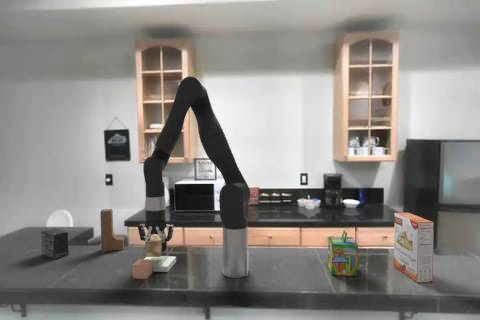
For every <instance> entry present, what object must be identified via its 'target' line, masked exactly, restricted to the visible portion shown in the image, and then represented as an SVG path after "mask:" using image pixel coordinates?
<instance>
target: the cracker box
mask: <svg viewBox="0 0 480 320" xmlns="http://www.w3.org/2000/svg"><path fill="white" fill-rule="evenodd" d="M393 220H394V222H393V223H394V228H393V229H394V233H393V234H394V236H393V238H394V239H393V267H394V268H396V269H397V270H399V271H400V272H401V271H402V272H401V273H403V274H404V275H405V276H407V277H408V276H409V279H411V278H412V279H413V280H412V279H411V280H412V281H413V282H415V281H416V282H428V283H431V282H430V281H433V279H434V276H433V275H434V238H435V237H434V228H435V225H434V221H431V220H429V219H425V218H424V217H421V216H418V215H416V214H413V213H411V212H394V219H393ZM416 282H415V283H416Z"/></svg>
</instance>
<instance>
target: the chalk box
mask: <svg viewBox="0 0 480 320" xmlns="http://www.w3.org/2000/svg"><path fill="white" fill-rule="evenodd" d="M358 249H359V244H358V242H357V241H356V240H355V239H354V237H348V232H347V231H346V230H343V231H342V234H341V236H333V235H332V236H330V235H329V236H328V237H327V267H328V270H329V271H330V274H331V276H347V277H348V276H349V277H358V257H359V256H358V255H359V250H358Z"/></svg>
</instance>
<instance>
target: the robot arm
mask: <svg viewBox="0 0 480 320" xmlns="http://www.w3.org/2000/svg"><path fill="white" fill-rule="evenodd" d="M189 109H191V111H192V112H193V115H194V118H195V119H196V123H197V124H196V125H197V130H198V136H199V139H200V143H201V146H202V147H203V149H204V152H205V154H206V156H207V158H208V159H209V160H210V162H211V163H212V164H213V165H214V166H215V167H216V168H217V171H219V172H220V174H221V176H222V178H223V181H224V185H223V186H222V187H221V189H220V192H219V198H218V200H219V201H218V202H219V204H218V205H219V217H220V220H221V224H222V225H221V226H222V227H221V228H222V232H221V234H222V274H223V275H224V276H225V277H227V278H232V279H238V278H244V277H248V275H249V269H250V268H249V267H250V266H249V263H250V262H249V239H248V238H249V233H248V232H249V223H248V222H249V221H248V218H247V217H246V216H245V214H244V213H245V212H244V210H245V209H244V205H246V204H247V203H249V201H250V199H251V190H250V187H249V185H248V183H247V181H246V179H245V177H244V175H243V173H242V172H241V170H240V168H239V166H238V164H237V162H236V159H235V157H234V153H233V152H232V148H231V146H230V145H229V141H228V139H227V137H226V134H225V132H224V129H223V128H222V126H221V123H220V121H219V120H218V118H217V116H216V114H215V112H214V109H213V108H212V104H211V101H210V96H209V94H208V91H207V88H206V86H205V85H204V84H203V82H201V80H200V79H198V77H195V76H186V77H185V78H183V79H182V80H181V81H180V82H179V85H178V87H177V90H176V93H175V96H174V100H173V102H172V105H171V108H170V111H169V114H168V117H167V118H166V121H165V123H164V125H163V127H162V130H161V131H160V134H159V135H158V137H157V139H156V141H155V143H154V144H155V145H154V146H155V148H154V150H153V151H152V154H151V156H148V157H147V158H146V159H144V162H143V164H142V165H143V167H142V169H143V171H142V173H143V176H144V182H145V201H144V209H145V210H144V212H145V213H144V214H145V216H144V217H145V222H144V223H140V224H138V225H137V230H138V235H139V240H141V241H143V242H145V244H146V243H147V242H148V241H149V240H150V239H151V238H152V237H153V235H156V236H159V237H160V238H161V240H162V252H163V253H165V252H166V251H167V249H168V243H167V242H170V241H171V240H172V239H173V233H174V228H175V225H174V224H168V223H167V221H166V219H167V212H166V211H167V210H166V209H167V208H166V207H167V206H166V205H167V204H166V193H165V192H166V188H165V183H164V181H163V180H164V179H163V172H164V170H165V169H166V167H167V165H168V163H169V160H170V157H171V154H172V153H173V151H174V149H175V146H177V143H178V141H179V139H180V138H181V134H182V130H183V129H184V128H183V127H184V122H185V119H186V116H187V114H188V111H189ZM145 229H146V230H147V233H146V231H145ZM165 229H166V230H167V234H166V231H165Z"/></svg>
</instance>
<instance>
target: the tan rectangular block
mask: <svg viewBox="0 0 480 320" xmlns="http://www.w3.org/2000/svg"><path fill="white" fill-rule="evenodd" d="M145 251H146V253H145V255H146V256H145V257H160V256H163V255H162V254H163V253H164V252H162V240H161V238H160V237H159V235H152V236H151V239H150V240H149V241H148V242H147V243H146V242H145Z"/></svg>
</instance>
